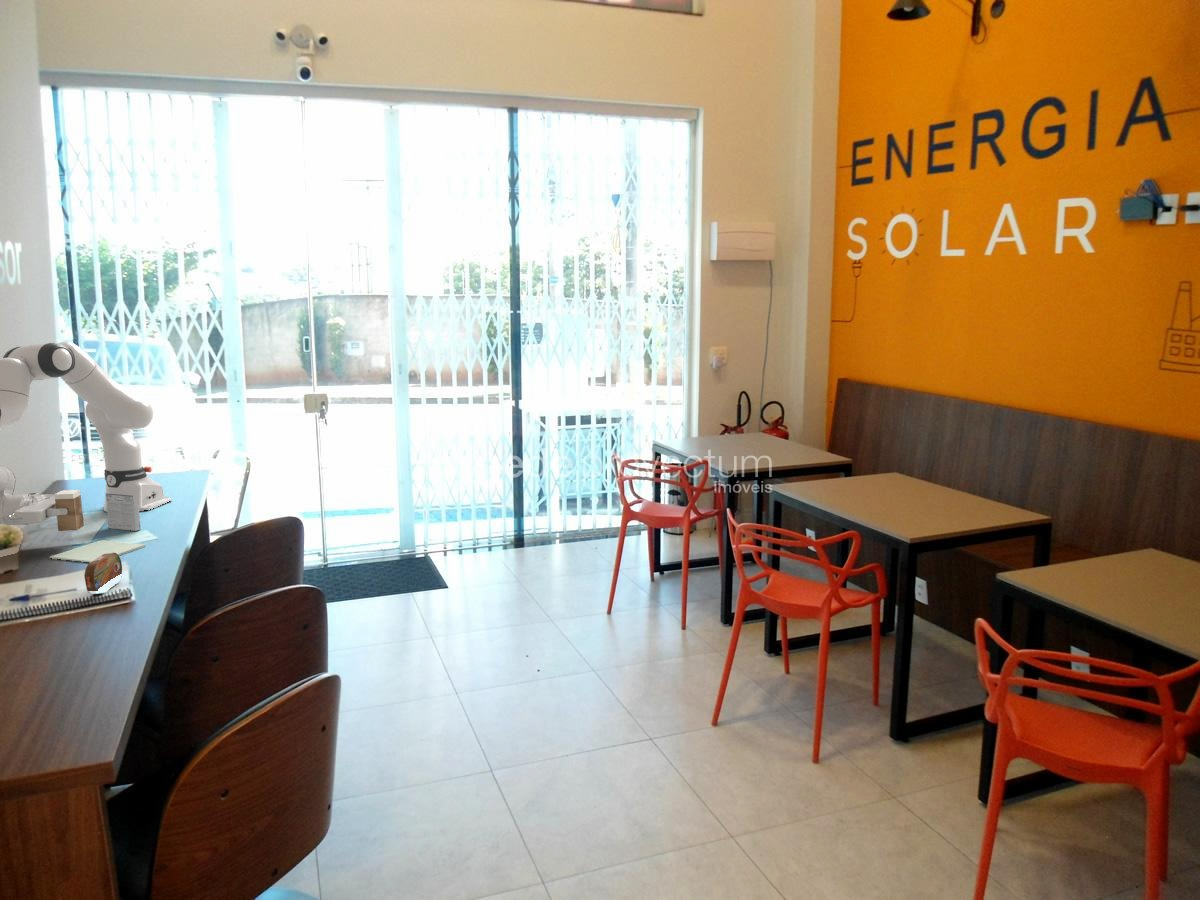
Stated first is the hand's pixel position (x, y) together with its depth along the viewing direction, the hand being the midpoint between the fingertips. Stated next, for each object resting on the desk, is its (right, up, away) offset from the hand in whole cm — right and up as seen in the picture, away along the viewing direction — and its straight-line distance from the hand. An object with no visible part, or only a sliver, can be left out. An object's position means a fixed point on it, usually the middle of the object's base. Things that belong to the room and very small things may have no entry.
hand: (72, 508), depth 262 cm
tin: (+29, -18, -36) cm, 50 cm away
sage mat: (+11, -12, -5) cm, 17 cm away
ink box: (+4, -8, +20) cm, 22 cm away
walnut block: (-1, -6, +1) cm, 6 cm away
